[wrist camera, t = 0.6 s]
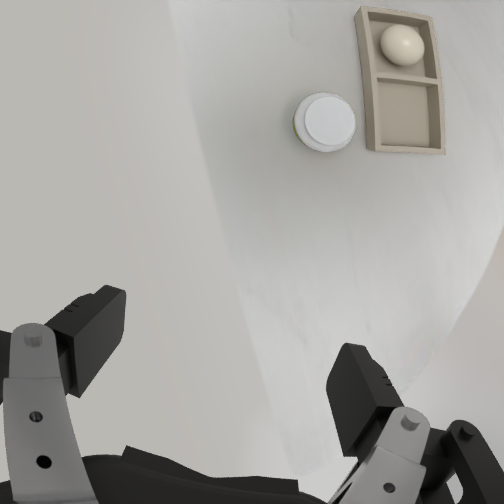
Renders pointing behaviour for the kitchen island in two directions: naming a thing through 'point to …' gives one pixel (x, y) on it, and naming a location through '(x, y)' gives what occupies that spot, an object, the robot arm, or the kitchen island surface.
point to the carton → (400, 87)
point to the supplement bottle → (324, 122)
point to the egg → (402, 45)
